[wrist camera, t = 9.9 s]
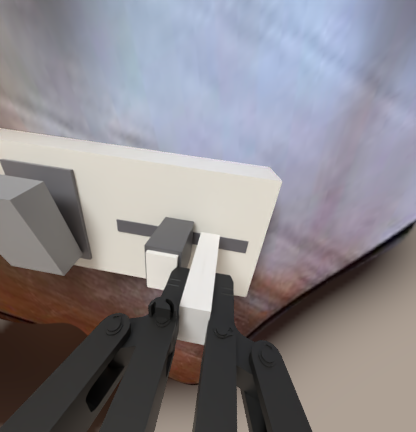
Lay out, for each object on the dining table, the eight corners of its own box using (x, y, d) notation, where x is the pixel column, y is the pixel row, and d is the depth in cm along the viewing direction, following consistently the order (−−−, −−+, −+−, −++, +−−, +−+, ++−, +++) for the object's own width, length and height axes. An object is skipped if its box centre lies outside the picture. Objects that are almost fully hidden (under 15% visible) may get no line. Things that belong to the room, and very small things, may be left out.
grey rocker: (35, 245, 18) (11, 265, 16) (-22, 170, 13) (-66, 187, 11) (82, 254, 18) (64, 275, 16) (43, 181, 13) (9, 200, 11)
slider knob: (165, 251, 17) (144, 289, 13) (165, 216, 15) (142, 248, 11) (190, 256, 16) (178, 295, 13) (194, 221, 15) (180, 255, 11)
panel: (21, 224, 24) (-30, 247, 20) (-20, 125, 19) (-103, 125, 14) (243, 263, 23) (246, 299, 18) (269, 167, 17) (283, 182, 13)
